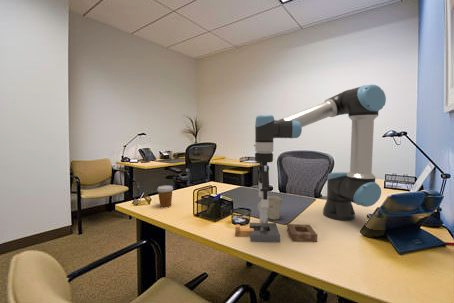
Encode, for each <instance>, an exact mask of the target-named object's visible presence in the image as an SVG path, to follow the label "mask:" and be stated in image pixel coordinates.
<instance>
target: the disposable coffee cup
mask: <svg viewBox="0 0 454 303" xmlns="http://www.w3.org/2000/svg"><path fill="white" fill-rule="evenodd" d="M156 190H157V195H158V200H159V206H161V207H168V208H170V207H171V206H172V199H173V191H174V188H173V185H160V186H158V187H157V189H156ZM169 206H170V207H169ZM161 207H160V208H161Z"/></svg>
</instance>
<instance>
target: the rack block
mask: <svg viewBox="0 0 454 303" xmlns="http://www.w3.org/2000/svg"><path fill="white" fill-rule="evenodd" d="M286 231H287V234H288V235H289V238H290V240H291V241H292V242H299V243H300V242H303V243H305V242H306V243H310V242H311V243H317V242H318V234H317V233H316V231H315V230H314V228H313V227H312V226H311V224H300V223H299V224H298V223H296V224H295V223H293V224H292V223H291V224H290V223H287V224H286Z"/></svg>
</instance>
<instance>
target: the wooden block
mask: <svg viewBox="0 0 454 303" xmlns="http://www.w3.org/2000/svg"><path fill="white" fill-rule="evenodd" d="M234 231H235V237H250V231H254V228H249V227H241V224H235V230H234Z"/></svg>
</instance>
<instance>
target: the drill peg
mask: <svg viewBox="0 0 454 303" xmlns="http://www.w3.org/2000/svg"><path fill="white" fill-rule="evenodd" d="M259 223H260V231H268V223H269V218H268V207H261V203H260V211H259Z"/></svg>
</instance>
